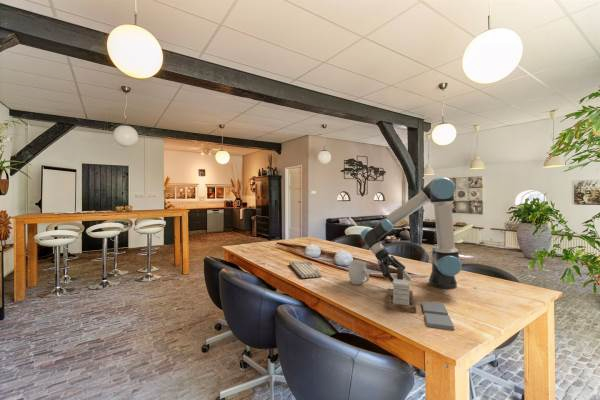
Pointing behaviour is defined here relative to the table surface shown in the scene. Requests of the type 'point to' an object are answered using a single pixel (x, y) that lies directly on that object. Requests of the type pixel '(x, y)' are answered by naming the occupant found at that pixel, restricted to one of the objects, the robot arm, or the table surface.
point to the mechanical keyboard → (304, 270)
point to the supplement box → (401, 292)
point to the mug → (357, 272)
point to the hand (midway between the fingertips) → (403, 283)
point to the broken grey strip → (437, 315)
